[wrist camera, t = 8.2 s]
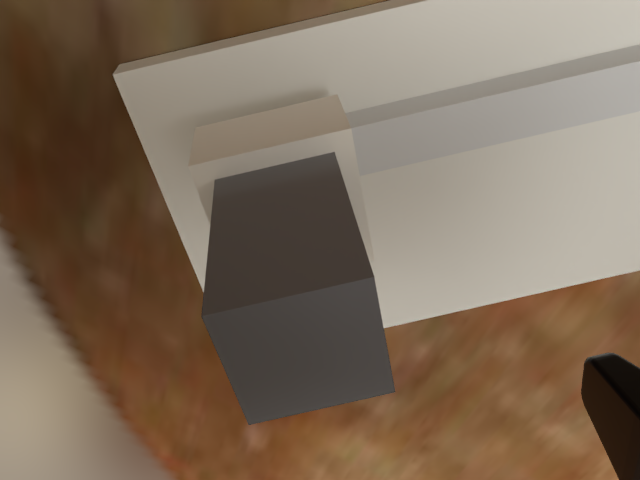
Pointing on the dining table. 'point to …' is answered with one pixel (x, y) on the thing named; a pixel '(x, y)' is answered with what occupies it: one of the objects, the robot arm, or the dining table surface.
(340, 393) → the block
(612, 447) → the robot arm
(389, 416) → the dining table surface
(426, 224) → the plate
